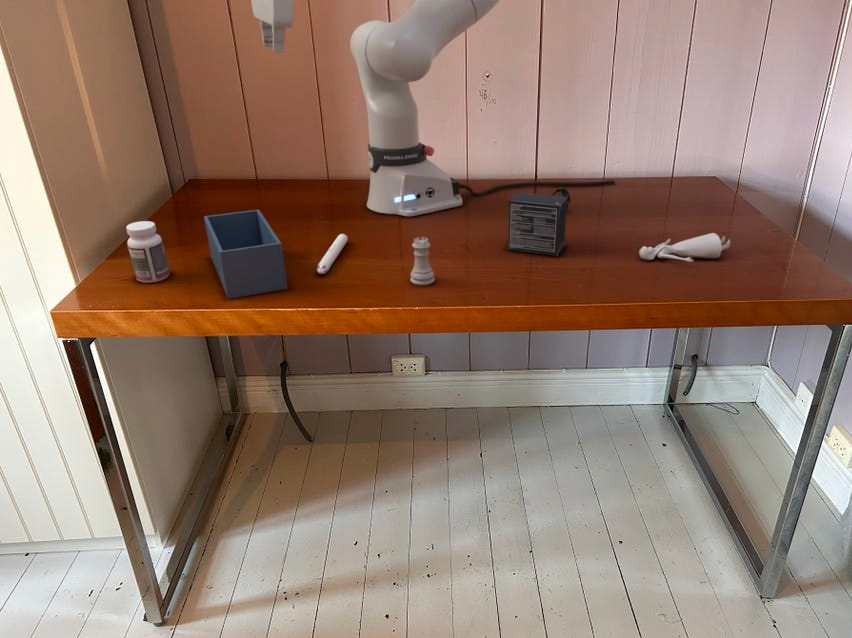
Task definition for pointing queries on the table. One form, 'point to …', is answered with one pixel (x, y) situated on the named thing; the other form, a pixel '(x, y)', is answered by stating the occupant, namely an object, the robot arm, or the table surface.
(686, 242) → the woman figurine
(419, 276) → the rook chess piece
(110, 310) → the table surface
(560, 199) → the small box
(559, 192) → the smartwatch
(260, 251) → the blue box
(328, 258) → the marker
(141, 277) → the pill bottle
